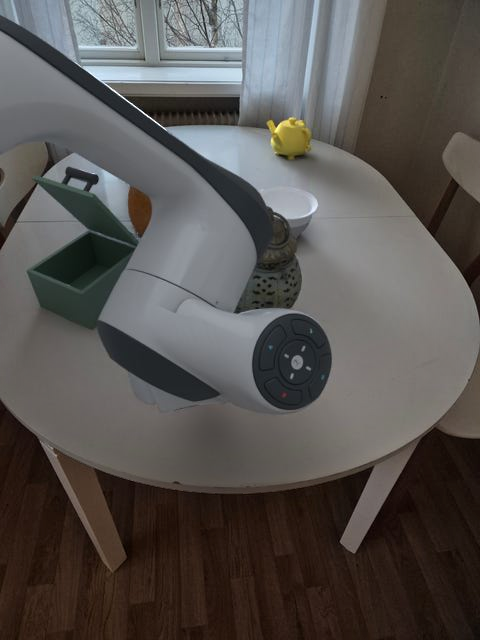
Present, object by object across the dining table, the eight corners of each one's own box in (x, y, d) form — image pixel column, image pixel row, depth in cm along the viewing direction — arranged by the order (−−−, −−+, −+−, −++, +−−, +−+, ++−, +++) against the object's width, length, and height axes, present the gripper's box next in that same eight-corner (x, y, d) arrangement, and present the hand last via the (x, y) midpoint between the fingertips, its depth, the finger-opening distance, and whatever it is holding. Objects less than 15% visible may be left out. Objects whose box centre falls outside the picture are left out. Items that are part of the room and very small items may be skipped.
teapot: (264, 145, 148) (266, 110, 140) (303, 144, 149) (307, 110, 141) (270, 162, 138) (272, 126, 130) (311, 162, 139) (316, 126, 131)
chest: (92, 330, 81) (81, 294, 75) (40, 306, 85) (25, 270, 79) (146, 282, 91) (141, 247, 85) (97, 263, 96) (89, 229, 90)
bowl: (325, 231, 108) (331, 200, 102) (289, 259, 99) (293, 226, 93) (274, 210, 115) (277, 180, 110) (236, 234, 106) (237, 202, 100)
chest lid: (92, 197, 69) (107, 171, 70) (31, 178, 73) (46, 153, 74) (140, 247, 85) (152, 225, 86) (87, 229, 90) (99, 208, 91)
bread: (198, 196, 120) (196, 134, 108) (203, 238, 105) (200, 171, 93) (135, 198, 118) (125, 135, 107) (130, 241, 103) (118, 173, 91)
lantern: (290, 299, 88) (306, 185, 71) (297, 350, 78) (318, 232, 61) (222, 298, 88) (222, 184, 71) (220, 349, 78) (219, 230, 61)
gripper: (307, 304, 49) (262, 314, 62) (127, 357, 42) (120, 355, 55) (322, 358, 49) (274, 356, 62) (145, 419, 42) (133, 402, 55)
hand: (200, 356), depth 58 cm, fingers closed on flask, 3 cm apart
